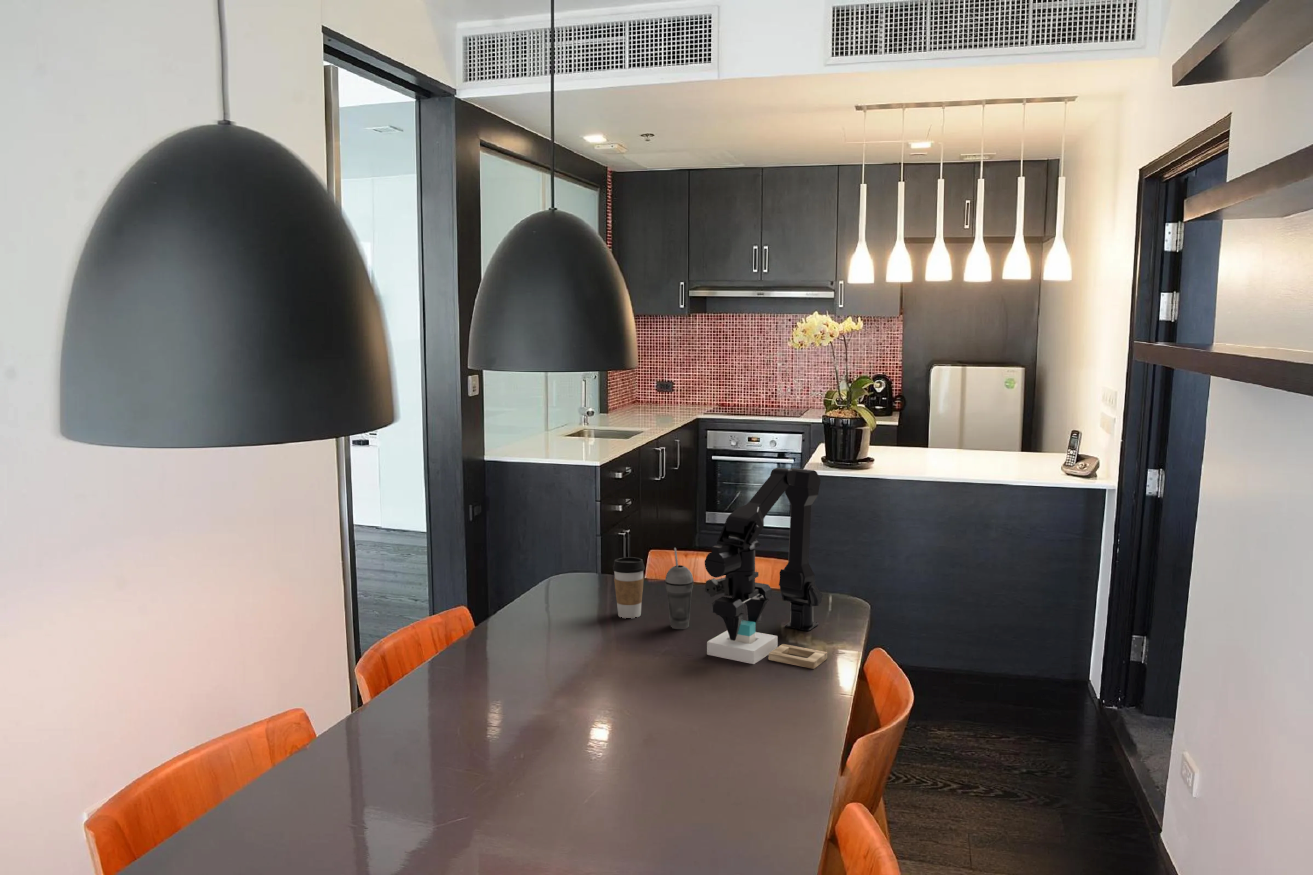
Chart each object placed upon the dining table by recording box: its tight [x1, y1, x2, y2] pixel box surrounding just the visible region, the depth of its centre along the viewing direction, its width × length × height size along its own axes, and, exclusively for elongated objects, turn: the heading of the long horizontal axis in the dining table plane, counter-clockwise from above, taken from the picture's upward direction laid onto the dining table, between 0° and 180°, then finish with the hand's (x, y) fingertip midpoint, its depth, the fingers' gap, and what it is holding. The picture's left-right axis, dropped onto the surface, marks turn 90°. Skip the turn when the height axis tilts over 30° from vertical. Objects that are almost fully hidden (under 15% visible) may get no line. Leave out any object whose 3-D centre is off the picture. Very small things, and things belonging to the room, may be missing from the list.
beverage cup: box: [664, 547, 695, 630], centre depth 234 cm, size 7×7×20 cm
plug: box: [730, 619, 756, 644], centre depth 216 cm, size 3×5×7 cm, turn 58°
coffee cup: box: [612, 556, 646, 619], centre depth 244 cm, size 8×8×15 cm
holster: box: [768, 643, 828, 670], centre depth 211 cm, size 7×11×2 cm
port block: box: [706, 630, 779, 665], centre depth 217 cm, size 12×12×3 cm
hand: (742, 634), depth 216 cm, fingers open, 9 cm apart
